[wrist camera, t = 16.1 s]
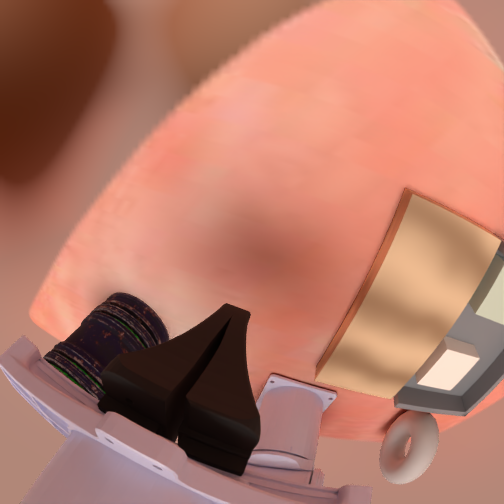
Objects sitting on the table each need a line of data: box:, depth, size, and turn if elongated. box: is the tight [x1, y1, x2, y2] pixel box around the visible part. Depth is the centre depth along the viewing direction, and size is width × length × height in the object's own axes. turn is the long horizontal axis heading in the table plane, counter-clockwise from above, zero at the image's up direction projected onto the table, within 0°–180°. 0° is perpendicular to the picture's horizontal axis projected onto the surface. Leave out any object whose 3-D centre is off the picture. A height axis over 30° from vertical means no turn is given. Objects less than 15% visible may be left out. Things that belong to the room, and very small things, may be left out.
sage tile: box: [469, 253, 504, 325], centre depth 16 cm, size 5×5×2 cm
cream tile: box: [415, 336, 480, 390], centre depth 21 cm, size 5×5×2 cm
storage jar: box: [43, 293, 169, 401], centre depth 25 cm, size 10×10×15 cm
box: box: [394, 233, 504, 416], centre depth 19 cm, size 19×12×3 cm, turn 166°
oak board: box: [314, 188, 501, 399], centre depth 20 cm, size 19×9×2 cm, turn 166°
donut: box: [379, 410, 439, 484], centre depth 22 cm, size 10×4×10 cm, turn 166°
